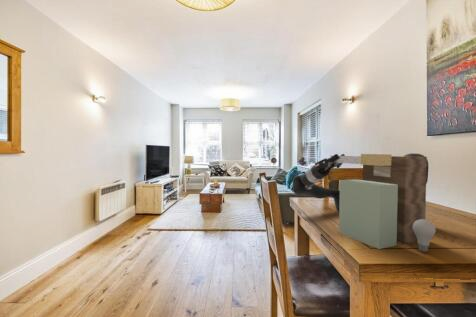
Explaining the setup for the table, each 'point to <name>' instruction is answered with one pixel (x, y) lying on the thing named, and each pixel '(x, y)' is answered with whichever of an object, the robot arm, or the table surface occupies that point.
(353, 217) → the sage green carton
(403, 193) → the parts stand
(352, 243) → the table surface
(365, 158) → the shaft
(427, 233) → the lightbulb
